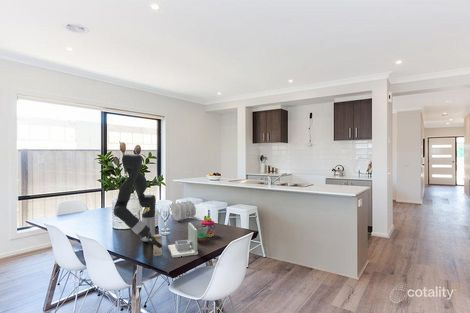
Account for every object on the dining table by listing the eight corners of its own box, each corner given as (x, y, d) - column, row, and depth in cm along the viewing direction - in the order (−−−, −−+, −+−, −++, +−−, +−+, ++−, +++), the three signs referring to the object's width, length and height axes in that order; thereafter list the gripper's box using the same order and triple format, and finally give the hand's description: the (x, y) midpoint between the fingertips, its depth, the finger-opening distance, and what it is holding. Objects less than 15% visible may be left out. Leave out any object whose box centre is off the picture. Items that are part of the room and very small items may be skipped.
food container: (196, 244, 192) (196, 230, 192) (192, 241, 197) (192, 228, 197) (211, 240, 199) (211, 227, 199) (207, 238, 204) (207, 225, 204)
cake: (217, 235, 213) (217, 216, 213) (207, 238, 205) (207, 218, 205) (208, 232, 220) (208, 214, 220) (198, 235, 212) (198, 216, 212)
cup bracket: (167, 247, 185) (167, 224, 185) (191, 244, 191) (191, 222, 191) (172, 257, 167) (172, 232, 166) (198, 254, 172) (198, 229, 172)
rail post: (153, 253, 173) (153, 234, 173) (160, 252, 175) (160, 234, 175) (154, 256, 169) (154, 237, 169) (161, 255, 171) (161, 236, 170)
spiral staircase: (195, 221, 272) (175, 225, 253) (185, 211, 283) (165, 214, 263) (201, 206, 268) (181, 208, 249) (191, 196, 278) (171, 198, 259)
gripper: (145, 226, 162) (166, 244, 167) (144, 221, 176) (163, 237, 180) (136, 236, 160) (157, 254, 165) (135, 230, 174) (155, 246, 178)
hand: (160, 245), depth 173 cm, fingers closed on rail post, 4 cm apart
